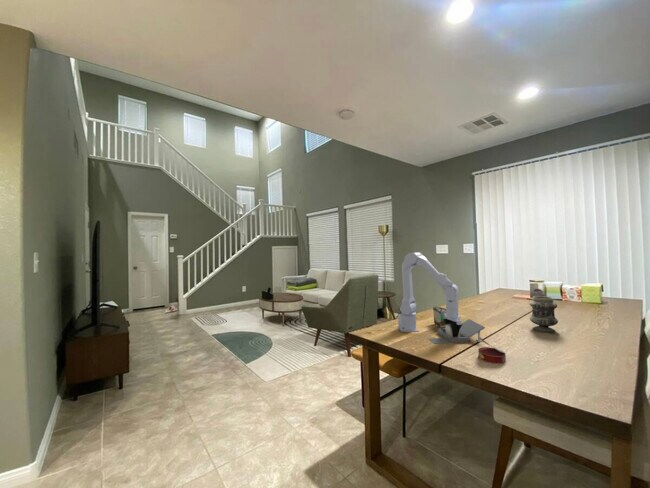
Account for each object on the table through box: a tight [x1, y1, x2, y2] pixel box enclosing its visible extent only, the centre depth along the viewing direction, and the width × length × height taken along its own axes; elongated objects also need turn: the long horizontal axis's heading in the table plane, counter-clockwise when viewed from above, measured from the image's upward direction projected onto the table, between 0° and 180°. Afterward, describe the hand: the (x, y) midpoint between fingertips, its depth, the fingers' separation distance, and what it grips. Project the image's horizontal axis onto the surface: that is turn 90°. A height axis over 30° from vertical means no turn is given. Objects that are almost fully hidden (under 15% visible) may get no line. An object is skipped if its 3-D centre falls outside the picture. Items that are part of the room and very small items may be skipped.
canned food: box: [477, 337, 507, 364], centre depth 116 cm, size 11×10×10 cm
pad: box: [428, 337, 449, 345], centre depth 137 cm, size 7×7×1 cm
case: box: [437, 318, 486, 344], centre depth 141 cm, size 17×14×7 cm
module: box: [445, 324, 460, 337], centre depth 141 cm, size 5×5×6 cm
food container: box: [432, 306, 446, 329], centre depth 161 cm, size 12×6×10 cm, turn 179°
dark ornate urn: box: [529, 295, 559, 334], centre depth 150 cm, size 12×12×18 cm
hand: (452, 334), depth 141 cm, fingers closed on module, 5 cm apart
